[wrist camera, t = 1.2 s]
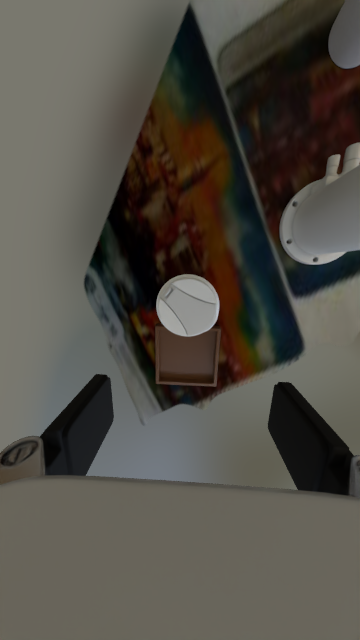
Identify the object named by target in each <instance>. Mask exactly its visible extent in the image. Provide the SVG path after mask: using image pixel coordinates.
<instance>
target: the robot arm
mask: <svg viewBox="0 0 360 640" xmlns="http://www.w3.org/2000/svg"><path fill="white" fill-rule="evenodd" d="M339 161H340V155H333V156H331V157H329V158H328V162H327V167H326V169H327V170H326V175H325V177H323V179H320V180H318V181H315V182H312V183H311V184H309V185H307V186H305V187H304V188H303V189H301V190H300V191H299V192H298V193H297V194H296V195H295V196H294V197H293V198H292V199H291V200H290V201H289V203H288V204H287V206H286V208H285V210H284V212H283V214H282V217H281V221H280V228H279V231H280V239H281V243H282V246H283V248H284V250H285V251H286V252H287V254H288V255H289V256H290V257H291V258H293V259H294V260H296V261H298V262H300V263H303V264H310V265H316V264H324V263H328V262H330V261H333V260H335V259H337V258H338V257H340V256H342V255H343V254H344V253H345V252H347V251H354V250H360V165H359V163H360V143H355V144H352V145H350V146H349V147H347V148H346V152H345V157H344V161H343V170H342V173H341V174H339V175H338V174H336V173H337V168H338V166H339ZM292 204H293V205H294V206H292ZM286 241H288V243H287V242H286ZM313 259H314V260H313ZM113 418H114V415H113V403H112V392H111V381H110V378H109V377H107V375H100V374H96V375H95V376H94V377H93V378H92V379H91V380H90V381H89V383H88V384H87V385H86V386H85V387H84V388H83V389H82V390H81V391H80V392H79V394H78V395H77V396H76V397H75V398H74V399H73V400H72V401H71V403H69V404H68V406H67V407H66V408H65V409H64V410H63V411H62V412H61V413H60V414H59V416H58V417H57V418H56V419H55V420H54V421H53V422H52V423H51V425H49V427H48V428H47V429H46V430H45V431H44V432H43V434H42V435H41V436H40V437H39V436H28V437H25V438H22V439H19V440H17V441H15V442H13V443H12V444H10V445H9V446H7V447H6V448H5V449H4V450H3V451H2V452H1V453H0V640H360V455H356V456H354V455H353V454H352V453H351V452H350V451H349V447H348V446H347V445H346V444H345V443H344V442H343V441H342V439H341V438H340V437H339V436H338V435H337V434H336V433H335V432H334V431H333V429H332V428H331V427H330V426H329V425H328V424H327V423H326V422H325V420H324V419H323V418H322V417H321V416H320V415H319V414H318V413H317V412H316V410H315V409H314V408H313V407H312V406H311V405H310V404H309V403H308V402H307V400H306V399H305V398H304V397H303V396H302V395H301V394H300V393H299V391H298V390H297V389H296V388H295V387H294V386H293V385H292V384H291V383H289V382H278V384H277V385H275V386H274V391H273V397H272V403H271V409H270V415H269V421H268V429H269V432H270V434H271V436H272V438H273V440H274V442H275V444H276V446H277V448H278V450H279V453H280V455H281V457H282V459H283V461H284V463H285V465H286V467H287V469H288V471H289V473H290V475H291V477H292V479H293V481H294V483H295V485H296V487H297V489H298V490H291V489H278V488H264V487H251V486H238V485H223V484H210V483H195V482H180V481H166V480H148V479H134V478H117V477H99V476H86V474H87V472H88V470H89V468H90V466H91V464H92V462H93V460H94V458H95V456H96V454H97V452H98V450H99V448H100V446H101V444H102V442H103V440H104V438H105V436H106V434H107V432H108V430H109V429H110V426H111V425H112V422H113Z"/></svg>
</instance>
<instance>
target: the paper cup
mask: <svg viewBox="0 0 360 640" xmlns="http://www.w3.org/2000/svg"><path fill="white" fill-rule="evenodd" d="M156 309H157V314H158V317H159V319H160V321H161V323H162V324H163V325H164V326H165V327H166V328H167V329H168V330H169V331H171V332H172V333H174V334H177V335H180V336H196V335H199V334H201V333H203V332H206V331H208V330H209V329H210V328H211V327H212V326H213V325H214V324H215V322H216V321H217V318H218V312H219V298H218V295H217V293H216V291H215V289H214V287H213V286H212V285H211V284H210V283H209V282H208V281H207V280H205V279H204V278H202V277H199V276H196V275H191V274H184V275H179V276H176V277H174V278H172V279H170V280H169V281H168V282H166V283H165V285H164V286H163V287H162V288H161V290H160V292H159V294H158V297H157V302H156Z"/></svg>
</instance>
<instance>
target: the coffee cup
mask: <svg viewBox="0 0 360 640" xmlns="http://www.w3.org/2000/svg"><path fill="white" fill-rule="evenodd" d="M328 48H329V53H330V56H331V59H332V60H333V62H334V63H335V64H336V65H337V66H339V67H341V68H346V69H348V68H354V67H356V66H358V65H360V0H345V2H344V4H343V6H342V8H341V10H340V12H339V14H338V16H337V18H336V20H335V22H334V24H333V26H332V29H331V31H330V35H329V41H328Z"/></svg>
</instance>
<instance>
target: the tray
mask: <svg viewBox="0 0 360 640" xmlns="http://www.w3.org/2000/svg"><path fill="white" fill-rule="evenodd" d="M220 333H221V328H220V326H214V325H213V326H212V327H211V328H210V329H209V330H208V331H206V332H203V333H201V334H199V335H196V336H180V335H177V334H174V333H172V332H171V331H169V330H168V329H167V328H166V327H165V326H164V325H163V324H156V326H155V351H156V384H173V385H194V386H214V387H216V384H217V371H218V358H219V346H220Z"/></svg>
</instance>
